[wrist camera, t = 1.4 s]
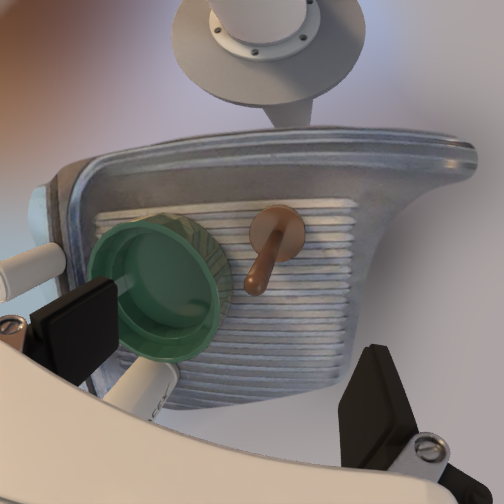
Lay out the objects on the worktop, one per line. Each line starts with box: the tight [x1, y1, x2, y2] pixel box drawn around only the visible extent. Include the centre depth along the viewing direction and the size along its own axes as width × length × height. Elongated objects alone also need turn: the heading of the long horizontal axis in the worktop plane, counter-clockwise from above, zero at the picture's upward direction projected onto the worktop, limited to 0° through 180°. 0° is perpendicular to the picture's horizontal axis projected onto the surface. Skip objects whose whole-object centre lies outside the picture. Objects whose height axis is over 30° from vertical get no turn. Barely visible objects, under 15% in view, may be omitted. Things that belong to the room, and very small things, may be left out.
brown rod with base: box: [244, 205, 305, 296], centre depth 22 cm, size 5×5×16 cm
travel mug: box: [102, 356, 180, 422], centre depth 28 cm, size 6×7×20 cm
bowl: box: [87, 213, 233, 363], centre depth 30 cm, size 15×15×6 cm
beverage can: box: [0, 243, 66, 303], centre depth 30 cm, size 5×5×12 cm
